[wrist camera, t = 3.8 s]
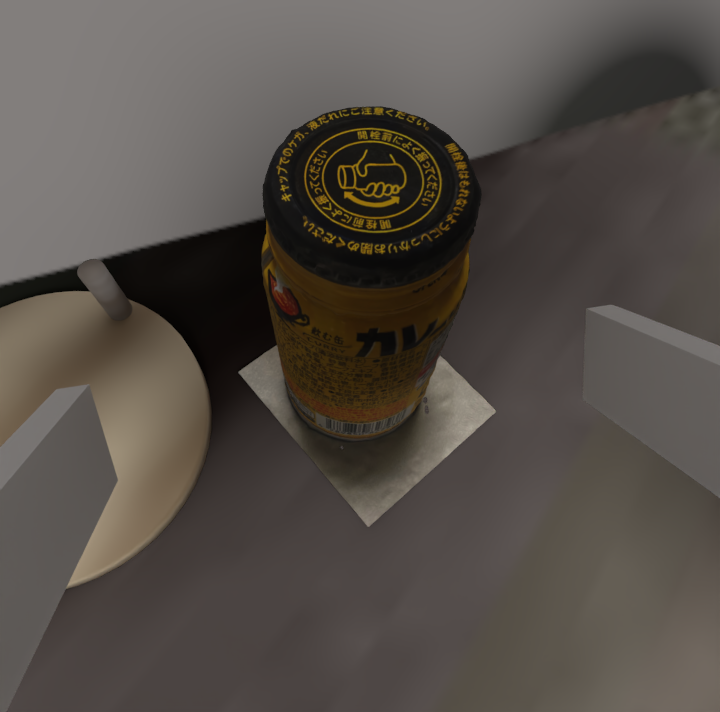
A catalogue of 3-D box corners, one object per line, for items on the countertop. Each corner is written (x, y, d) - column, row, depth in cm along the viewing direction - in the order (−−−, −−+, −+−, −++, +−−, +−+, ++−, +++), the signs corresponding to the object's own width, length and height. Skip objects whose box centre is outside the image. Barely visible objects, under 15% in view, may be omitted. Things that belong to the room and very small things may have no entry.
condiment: (365, 283, 25) (385, 41, 15) (495, 412, 23) (638, 237, 12) (238, 374, 23) (151, 168, 12) (367, 528, 21) (402, 441, 10)
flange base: (259, 355, 23) (244, 306, 20) (115, 647, 18) (58, 658, 15) (21, 272, 25) (-36, 211, 21) (-172, 524, 20) (-293, 505, 16)
